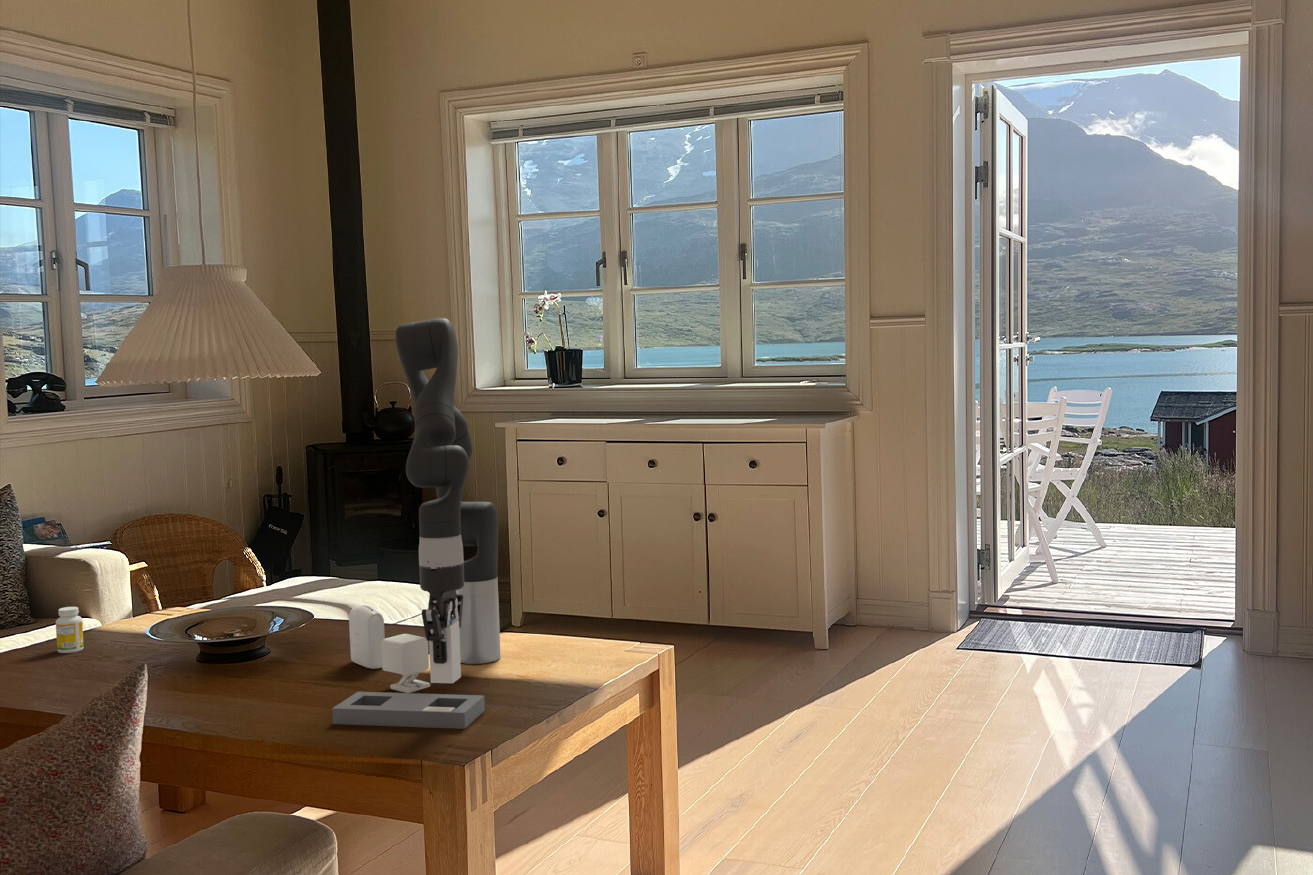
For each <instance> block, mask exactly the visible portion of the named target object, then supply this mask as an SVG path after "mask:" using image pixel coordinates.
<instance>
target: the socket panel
mask: <svg viewBox="0 0 1313 875" xmlns="http://www.w3.org/2000/svg"><path fill="white" fill-rule="evenodd" d="M485 702H486V701H485V695H481V694H480V695H479V694H478V695H477V694H448V693H447V694H446V693H445V694H443V693H418V692H417V693H416V692H415V693H414V692H411V693H405V692H381V691H379V692H378V691H356V692H355V693H354V694H352V695H350V696H349V697H347V698H346V699H345V700H342V701H341V702H340V703H338V704H336V705H335V706H333V707H332V708H331V710H332V712H331V713H332V725H346V726H348V725H350V726H353V725H354V726H372V727H373V726H377V727H378V726H379V727H380V726H381V727H404V728H405V727H406V728H407V727H409V728H427V729H428V728H432V729H433V728H434V729H458V730H460V729H462V730H463V729H464V730H465V729H466V728H468V727H469V726H470V725H471V724H472V723H473V722H474V721H476V719H477V718H479V717H480V716H481V715H482V714H483V713H484V712H485V710H486V706H485V705H486V704H485Z"/></svg>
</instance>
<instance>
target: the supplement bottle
mask: <svg viewBox="0 0 1313 875" xmlns="http://www.w3.org/2000/svg"><path fill="white" fill-rule="evenodd" d="M57 611H58V616H59V617H58V618H57V619H56V620H55V633H56V635H55V636H56V648H57V650H56V651H57V652H58V653H60V654H70V653H71V654H72V653H73V654H74V653H77V652H81V651H82V650H83V649H85V648H84V627H83V618H82V617H81V616H79V613H80V610H79V607H77V606H66V607H61V608H59V609H58V610H57Z"/></svg>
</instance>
